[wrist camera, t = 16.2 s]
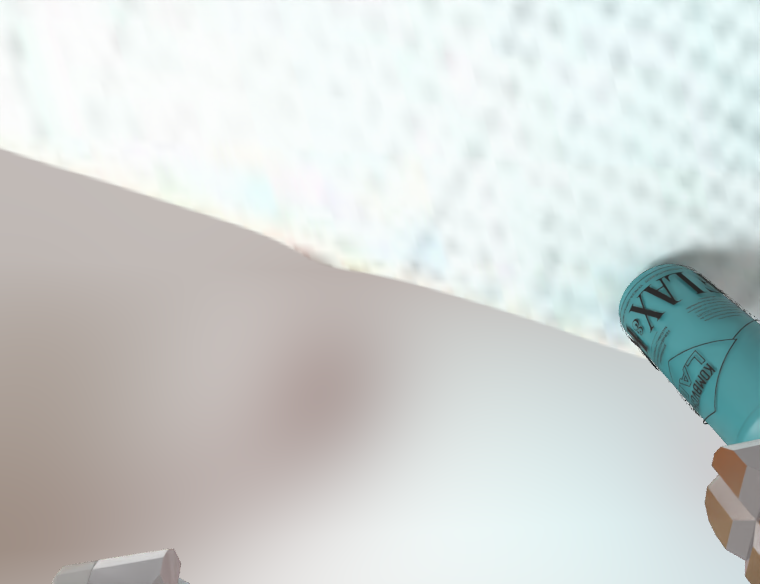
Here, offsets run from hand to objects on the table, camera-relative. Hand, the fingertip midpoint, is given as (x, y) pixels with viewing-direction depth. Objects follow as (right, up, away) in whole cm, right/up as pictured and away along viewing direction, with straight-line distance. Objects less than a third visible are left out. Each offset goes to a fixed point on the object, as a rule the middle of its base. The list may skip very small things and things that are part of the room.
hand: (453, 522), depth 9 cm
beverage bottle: (+19, +4, +37) cm, 41 cm away
